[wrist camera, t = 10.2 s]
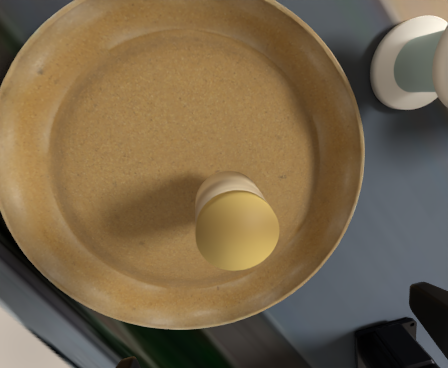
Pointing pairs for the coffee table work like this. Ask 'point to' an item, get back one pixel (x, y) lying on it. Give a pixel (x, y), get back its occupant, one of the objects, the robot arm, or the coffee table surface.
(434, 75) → the white spool
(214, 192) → the brass peg
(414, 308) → the robot arm
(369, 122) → the coffee table surface
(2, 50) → the coffee table surface
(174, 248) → the plant saucer
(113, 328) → the coffee table surface
